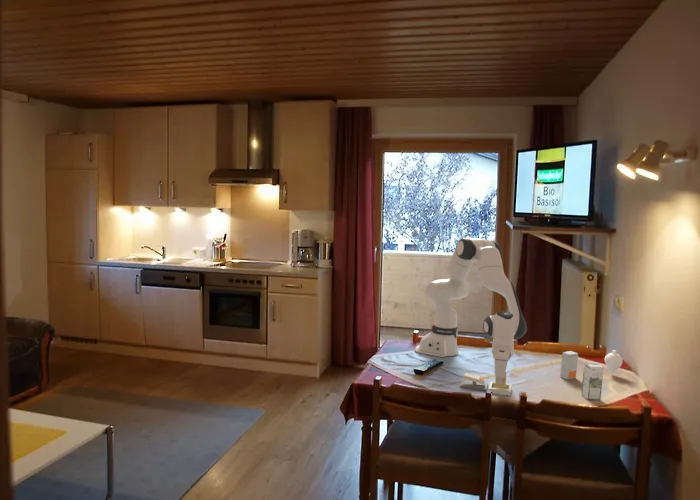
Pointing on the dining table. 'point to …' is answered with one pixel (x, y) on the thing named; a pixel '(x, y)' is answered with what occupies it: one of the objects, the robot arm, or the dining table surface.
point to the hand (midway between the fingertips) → (500, 381)
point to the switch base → (473, 385)
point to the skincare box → (569, 365)
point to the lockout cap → (501, 384)
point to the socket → (500, 391)
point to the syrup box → (592, 381)
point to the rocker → (474, 378)
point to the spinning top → (613, 361)
